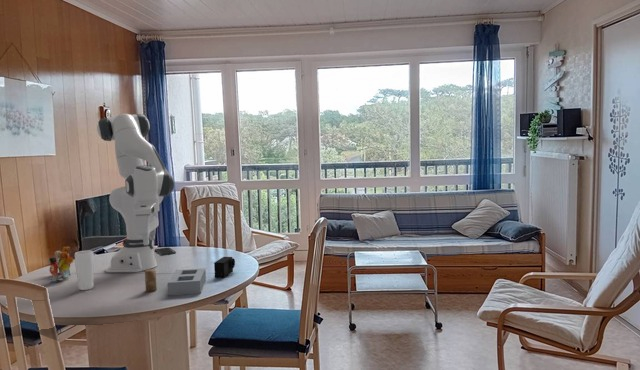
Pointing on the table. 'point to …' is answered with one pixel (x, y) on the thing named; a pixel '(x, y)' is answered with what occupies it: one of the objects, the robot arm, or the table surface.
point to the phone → (165, 251)
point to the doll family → (60, 265)
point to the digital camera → (224, 267)
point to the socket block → (187, 282)
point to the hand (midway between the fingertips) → (149, 242)
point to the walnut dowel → (150, 280)
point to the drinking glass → (85, 269)
